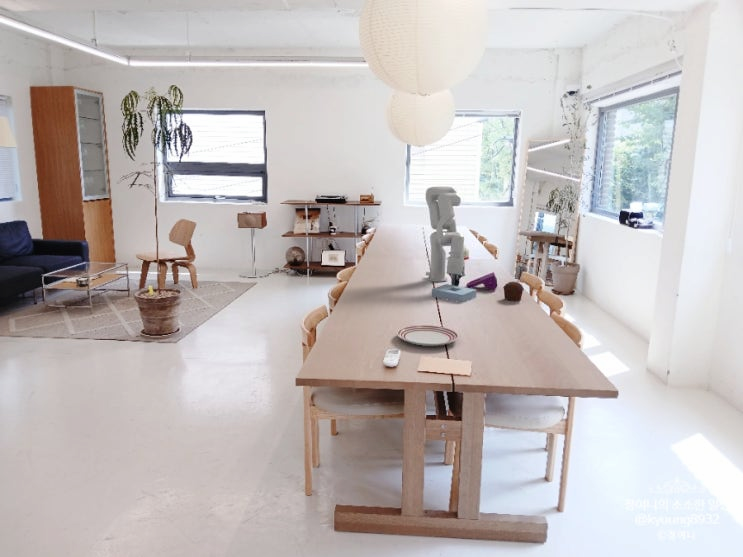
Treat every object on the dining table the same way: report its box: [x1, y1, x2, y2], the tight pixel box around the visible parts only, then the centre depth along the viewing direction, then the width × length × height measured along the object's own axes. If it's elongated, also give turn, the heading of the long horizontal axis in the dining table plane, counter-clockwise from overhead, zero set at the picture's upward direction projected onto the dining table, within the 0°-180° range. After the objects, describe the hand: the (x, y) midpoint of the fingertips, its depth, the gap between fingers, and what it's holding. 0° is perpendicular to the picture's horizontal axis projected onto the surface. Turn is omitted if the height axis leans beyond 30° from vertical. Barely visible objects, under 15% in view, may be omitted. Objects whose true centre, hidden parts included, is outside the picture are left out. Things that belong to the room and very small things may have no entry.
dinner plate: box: [396, 324, 460, 347], centre depth 246 cm, size 28×27×3 cm
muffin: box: [502, 281, 524, 302], centre depth 314 cm, size 12×11×10 cm
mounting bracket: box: [466, 271, 498, 291], centre depth 339 cm, size 9×8×18 cm
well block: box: [431, 283, 477, 304], centre depth 318 cm, size 20×16×4 cm
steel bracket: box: [451, 274, 459, 286], centre depth 333 cm, size 4×5×10 cm
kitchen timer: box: [463, 244, 470, 261], centre depth 432 cm, size 14×14×15 cm
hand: (455, 284), depth 334 cm, fingers closed
